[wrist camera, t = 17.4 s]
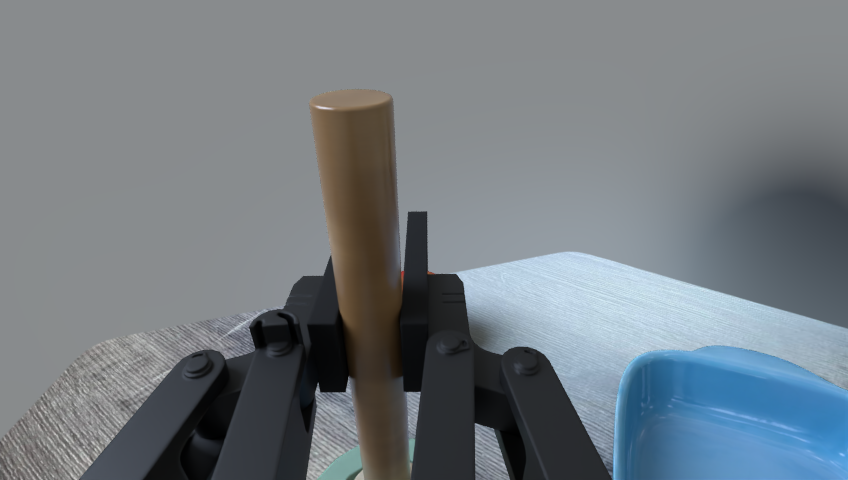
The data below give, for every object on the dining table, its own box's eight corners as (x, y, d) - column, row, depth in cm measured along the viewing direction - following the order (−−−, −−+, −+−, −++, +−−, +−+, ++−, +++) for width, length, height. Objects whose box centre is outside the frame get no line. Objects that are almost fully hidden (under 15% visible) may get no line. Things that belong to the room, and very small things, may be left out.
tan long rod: (347, 595, 21) (227, 103, 9) (392, 530, 24) (348, 75, 11) (404, 651, 19) (355, 131, 7) (446, 574, 22) (465, 91, 10)
